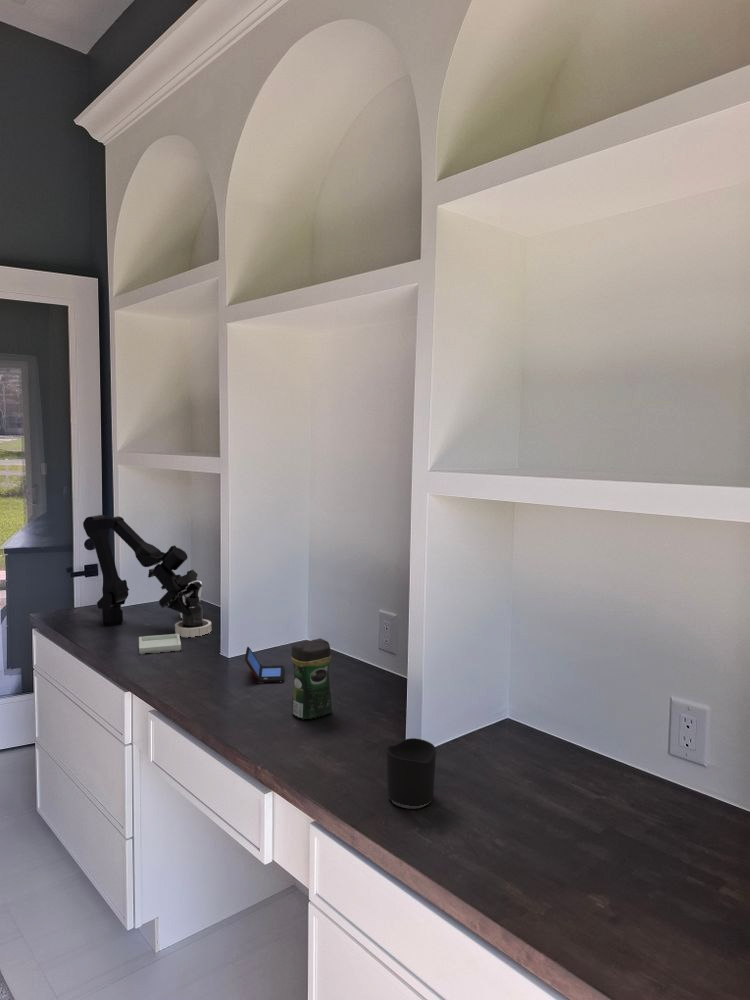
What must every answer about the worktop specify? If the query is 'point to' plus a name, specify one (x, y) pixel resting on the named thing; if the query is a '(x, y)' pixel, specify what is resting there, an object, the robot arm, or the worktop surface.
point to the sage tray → (159, 643)
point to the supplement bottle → (193, 613)
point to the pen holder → (411, 772)
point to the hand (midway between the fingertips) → (196, 612)
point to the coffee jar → (311, 679)
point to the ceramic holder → (193, 629)
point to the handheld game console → (263, 669)
